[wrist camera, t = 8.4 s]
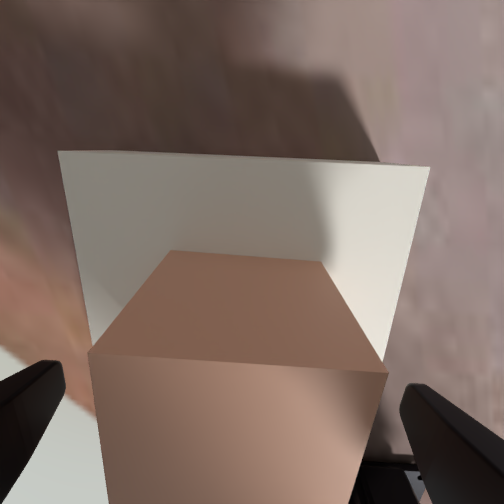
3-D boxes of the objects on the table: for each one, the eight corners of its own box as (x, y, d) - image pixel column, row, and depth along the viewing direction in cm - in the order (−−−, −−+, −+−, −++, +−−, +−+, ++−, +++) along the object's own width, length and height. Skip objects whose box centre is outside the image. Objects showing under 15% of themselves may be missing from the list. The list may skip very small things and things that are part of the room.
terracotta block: (300, 379, 11) (334, 546, 6) (172, 370, 11) (113, 535, 6) (320, 261, 9) (388, 372, 5) (170, 250, 9) (87, 352, 5)
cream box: (338, 366, 16) (364, 434, 12) (141, 359, 16) (106, 425, 12) (375, 161, 12) (430, 166, 8) (118, 150, 12) (57, 150, 8)
